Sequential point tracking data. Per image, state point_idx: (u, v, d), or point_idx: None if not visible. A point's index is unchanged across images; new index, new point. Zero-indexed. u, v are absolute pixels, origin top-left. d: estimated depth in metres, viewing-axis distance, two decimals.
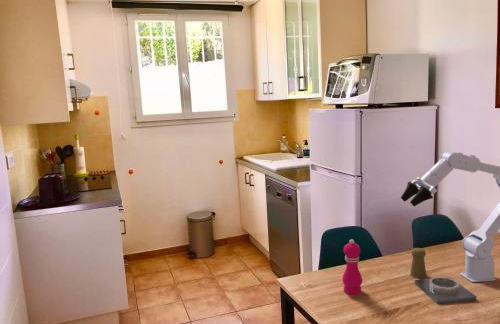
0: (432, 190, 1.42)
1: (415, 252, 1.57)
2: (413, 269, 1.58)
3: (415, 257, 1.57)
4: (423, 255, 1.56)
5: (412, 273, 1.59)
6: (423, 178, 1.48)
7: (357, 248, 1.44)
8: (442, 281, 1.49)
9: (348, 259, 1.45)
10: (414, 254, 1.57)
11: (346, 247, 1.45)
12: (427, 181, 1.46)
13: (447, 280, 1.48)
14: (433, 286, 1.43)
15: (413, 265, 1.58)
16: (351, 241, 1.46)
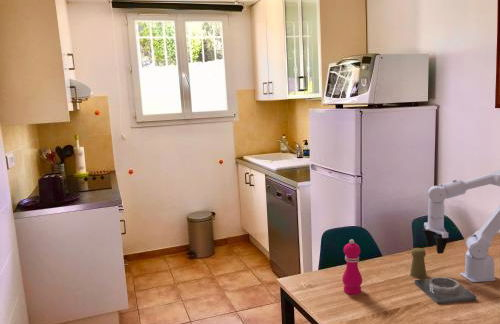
0: (444, 236, 1.51)
1: (415, 252, 1.57)
2: (413, 269, 1.58)
3: (415, 257, 1.57)
4: (423, 255, 1.56)
5: (412, 273, 1.59)
6: (430, 226, 1.57)
7: (357, 248, 1.44)
8: (442, 281, 1.49)
9: (348, 259, 1.45)
10: (414, 254, 1.57)
11: (346, 247, 1.45)
12: (435, 227, 1.55)
13: (447, 280, 1.48)
14: (433, 286, 1.43)
15: (413, 265, 1.58)
16: (351, 241, 1.46)
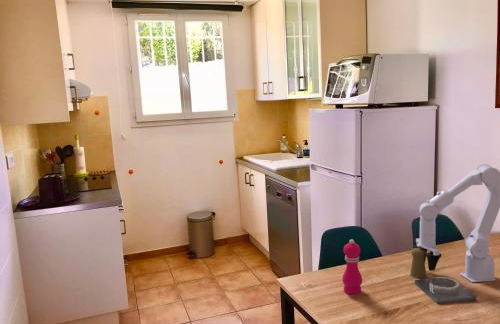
0: (436, 253, 1.51)
1: (415, 252, 1.57)
2: (413, 269, 1.58)
3: (415, 257, 1.57)
4: (423, 255, 1.56)
5: (412, 273, 1.59)
6: (421, 243, 1.57)
7: (357, 248, 1.44)
8: (442, 281, 1.49)
9: (348, 259, 1.45)
10: (414, 254, 1.57)
11: (346, 247, 1.45)
12: (426, 244, 1.56)
13: (447, 280, 1.48)
14: (433, 286, 1.43)
15: (413, 265, 1.58)
16: (351, 241, 1.46)
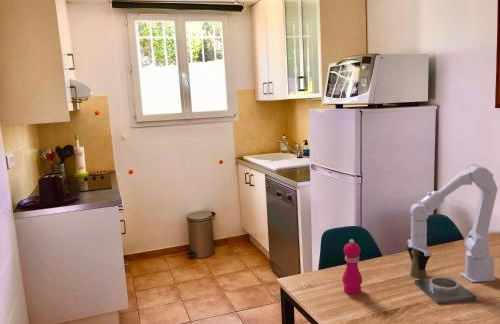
0: (427, 254, 1.51)
1: (415, 252, 1.57)
2: (413, 269, 1.58)
3: (415, 257, 1.57)
4: None
5: (412, 273, 1.59)
6: (412, 243, 1.57)
7: (357, 248, 1.44)
8: (442, 281, 1.49)
9: (348, 259, 1.45)
10: (414, 254, 1.57)
11: (346, 247, 1.45)
12: (417, 245, 1.56)
13: (447, 280, 1.48)
14: (433, 286, 1.43)
15: (413, 265, 1.58)
16: (351, 241, 1.46)
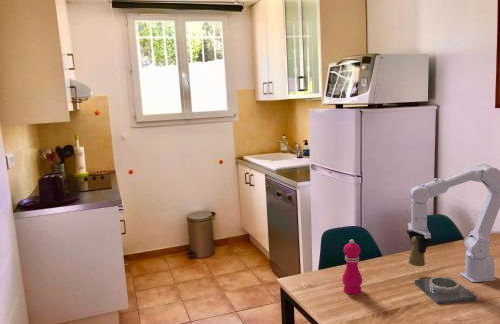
0: (427, 236, 1.50)
1: (415, 240, 1.56)
2: (412, 257, 1.58)
3: (415, 245, 1.57)
4: None
5: (411, 261, 1.58)
6: (413, 226, 1.56)
7: (357, 248, 1.44)
8: (442, 281, 1.49)
9: (348, 259, 1.45)
10: (415, 242, 1.56)
11: (346, 247, 1.45)
12: (417, 227, 1.55)
13: (447, 280, 1.48)
14: (433, 286, 1.43)
15: (412, 253, 1.58)
16: (351, 241, 1.46)
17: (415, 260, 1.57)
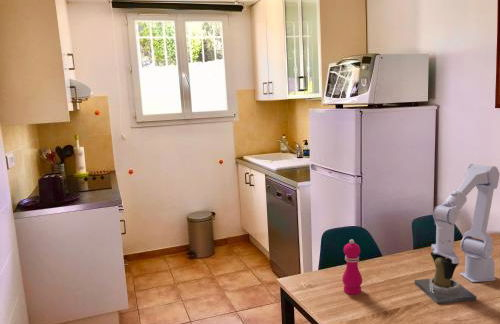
0: (455, 261, 1.36)
1: (439, 263, 1.42)
2: (437, 281, 1.43)
3: (439, 268, 1.42)
4: None
5: None
6: (438, 249, 1.42)
7: (357, 248, 1.44)
8: None
9: (348, 259, 1.45)
10: (439, 265, 1.42)
11: (346, 247, 1.45)
12: (444, 251, 1.40)
13: None
14: (433, 286, 1.43)
15: (437, 277, 1.43)
16: (351, 241, 1.46)
17: (440, 285, 1.42)
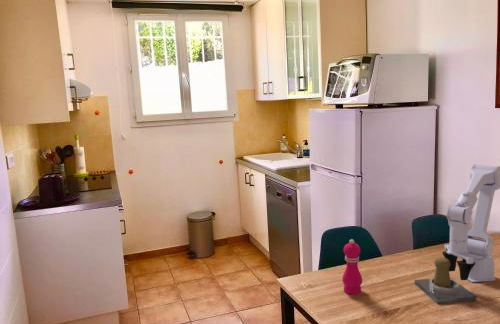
0: (469, 261, 1.36)
1: (439, 263, 1.42)
2: (437, 281, 1.43)
3: (439, 268, 1.42)
4: (448, 266, 1.41)
5: None
6: (452, 249, 1.42)
7: (357, 248, 1.44)
8: None
9: (348, 259, 1.45)
10: (439, 265, 1.42)
11: (346, 247, 1.45)
12: (457, 251, 1.41)
13: None
14: (433, 286, 1.43)
15: (437, 277, 1.43)
16: (351, 241, 1.46)
17: (440, 285, 1.42)
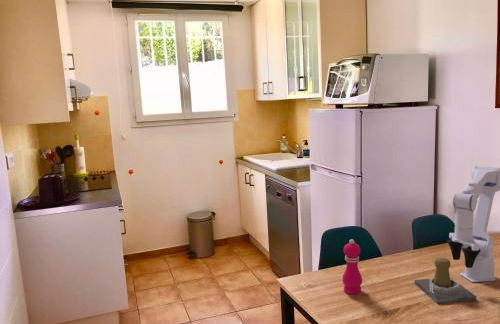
0: (475, 248, 1.36)
1: (439, 263, 1.42)
2: (437, 281, 1.43)
3: (439, 268, 1.42)
4: (448, 266, 1.41)
5: None
6: (457, 237, 1.42)
7: (357, 248, 1.44)
8: None
9: (348, 259, 1.45)
10: (439, 265, 1.42)
11: (346, 247, 1.45)
12: (463, 238, 1.40)
13: None
14: (433, 286, 1.43)
15: (437, 277, 1.43)
16: (351, 241, 1.46)
17: (440, 285, 1.42)
